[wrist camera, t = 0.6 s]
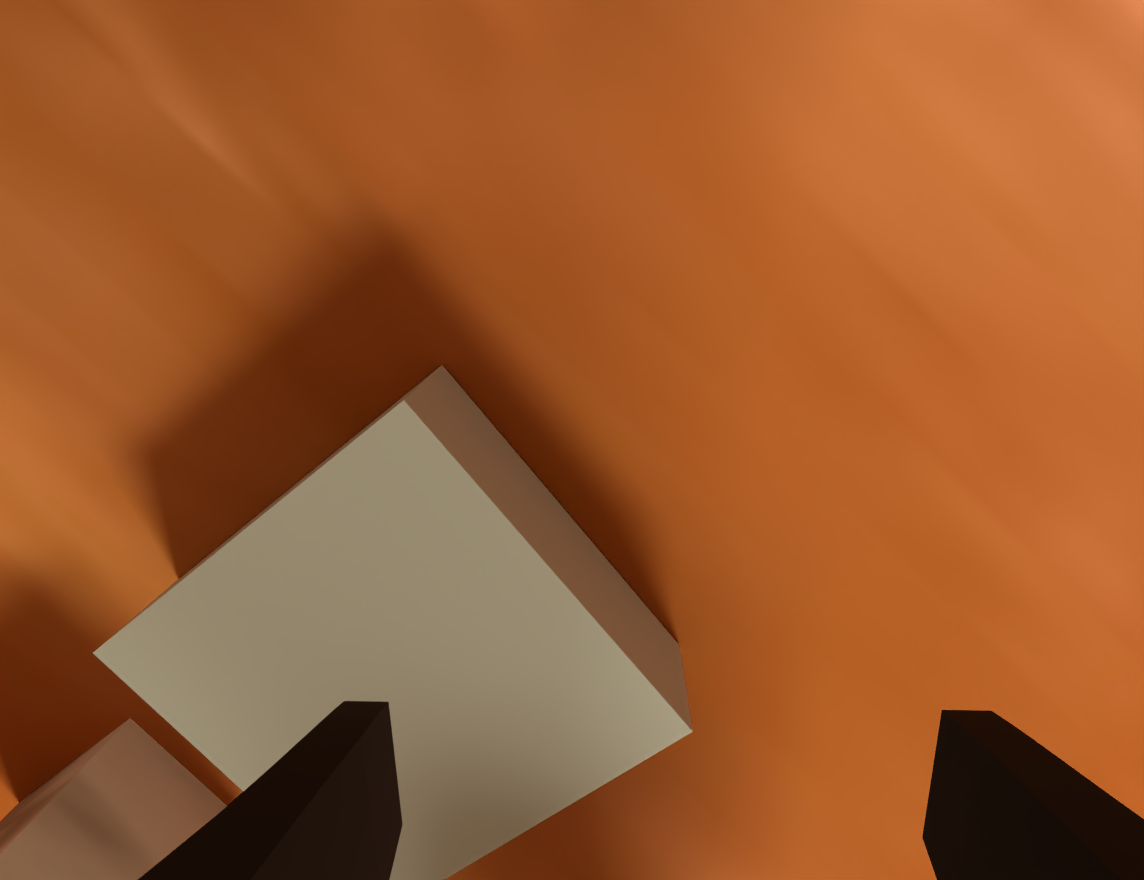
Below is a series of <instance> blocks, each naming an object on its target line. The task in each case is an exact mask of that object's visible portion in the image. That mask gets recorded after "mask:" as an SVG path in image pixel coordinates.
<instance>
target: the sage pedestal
mask: <svg viewBox="0 0 1144 880" xmlns="http://www.w3.org/2000/svg"><path fill="white" fill-rule="evenodd" d="M93 654H94V655H95V656H96V657H97V658H99V659H100V660H101V661H102V662H103V663H104V664H105V665H106V666H107V667H108V668H109V669H111V670H112V671H113V672H114V673H115V674H116V675H117V676H118V677H119V678H120V679H121V680H122V681H124V682H125V683H126V684H127V685H128V686H129V687H130V688H131V689H132V690H133V691H134V692H136V693H137V694H138V695H139V696H140V697H141V698H142V699H143V700H144V701H145V702H146V703H148V704H149V705H150V706H151V707H152V708H153V709H154V710H155V711H156V712H157V713H158V714H159V715H161V716H162V717H163V718H164V719H165V720H166V721H167V722H168V723H169V724H170V725H171V726H173V727H174V728H175V729H176V730H177V731H178V732H179V733H180V734H181V735H182V736H183V737H185V738H186V739H187V740H188V741H189V742H190V743H191V744H192V745H193V746H194V747H195V748H196V749H198V750H199V751H200V752H201V753H202V754H203V755H204V756H205V757H206V758H207V759H208V760H210V761H211V762H212V763H213V764H214V765H215V766H216V767H217V768H218V769H219V770H220V771H222V772H223V773H224V774H225V775H226V776H227V777H228V778H229V779H230V780H231V781H232V782H233V783H235V784H236V785H237V786H238V787H239V788H240V789H241V790H242V791H245V790H246V789H247V788H248V787H249V786H250V785H251V784H252V783H254V782H255V781H256V780H257V779H258V778H259V777H260V776H262V775H263V774H264V773H265V772H266V771H267V770H268V769H269V768H270V767H272V766H273V765H274V764H275V763H276V762H277V761H278V760H279V759H280V758H281V757H283V756H284V755H285V754H286V753H287V752H288V751H289V750H290V749H291V748H292V747H294V746H295V745H296V744H297V743H298V742H299V741H300V740H301V739H302V738H303V737H304V736H306V735H307V734H308V733H309V732H310V731H311V730H312V729H313V728H314V727H315V726H316V725H318V724H319V723H320V722H321V721H322V720H323V719H324V718H325V717H326V716H327V715H329V714H330V713H331V712H332V711H333V710H334V709H335V708H337V707H338V706H339V705H340V704H341V703H342V702H343V701H381V702H389V710H390V719H391V727H392V736H393V745H394V754H395V762H396V771H397V780H398V789H399V797H400V806H401V815H402V824H403V825H402V829H401V833H400V837H399V842H398V846H397V850H396V854H395V859H394V863H393V867H392V871H391V875H390V879H389V880H445V879H446V878H448V877H450V876H451V875H453V874H455V873H456V872H458V871H460V870H461V869H463V868H465V867H467V866H468V865H470V864H472V863H473V862H475V861H477V860H478V859H480V858H482V857H483V856H485V855H487V854H488V853H490V852H492V851H493V850H495V849H497V848H498V847H500V846H502V845H503V844H505V843H507V842H508V841H510V840H512V839H513V838H515V837H517V836H519V835H520V834H522V833H524V832H525V831H527V830H529V829H530V828H532V827H534V826H535V825H537V824H539V823H540V822H542V821H544V820H545V819H547V818H549V817H550V816H552V815H554V814H555V813H557V812H559V811H560V810H562V809H564V808H565V807H567V806H569V805H571V804H572V803H574V802H576V801H577V800H579V799H581V798H582V797H584V796H586V795H587V794H589V793H591V792H592V791H594V790H596V789H597V788H599V787H601V786H602V785H604V784H606V783H607V782H609V781H611V780H612V779H614V778H616V777H617V776H619V775H621V774H623V773H624V772H626V771H628V770H629V769H631V768H633V767H634V766H636V765H638V764H639V763H641V762H643V761H644V760H646V759H648V758H649V757H651V756H653V755H654V754H656V753H658V752H659V751H661V750H663V749H664V748H666V747H668V746H669V745H671V744H673V743H674V742H676V741H678V740H680V739H681V738H683V737H685V736H686V735H688V734H690V733H691V732H693V730H692V724H691V717H690V711H689V704H688V698H687V691H686V685H685V679H684V672H683V666H682V659H681V653H680V646H679V644H678V643H677V642H676V641H675V639H674V638H673V637H672V636H671V635H670V634H669V632H668V631H667V630H666V629H665V628H664V626H663V625H662V624H661V623H660V622H659V621H658V619H657V618H656V617H655V616H654V615H653V613H652V612H651V611H650V610H649V609H648V608H647V606H646V605H645V604H644V603H643V602H642V600H641V599H640V598H639V597H638V596H637V595H636V593H635V592H634V591H633V590H632V589H631V587H630V586H629V585H628V584H627V583H626V582H625V580H624V579H623V578H622V577H621V576H620V574H619V573H618V572H617V571H616V570H615V569H614V567H613V566H612V565H611V564H610V563H609V561H608V560H607V559H606V558H605V557H604V556H603V554H602V553H601V552H600V551H599V550H598V548H597V547H596V546H595V545H594V544H593V543H592V541H591V540H590V539H589V538H588V537H587V535H586V534H585V533H584V532H583V531H582V530H581V528H580V527H579V526H578V525H577V524H576V522H575V521H574V520H573V519H572V518H571V517H570V515H569V514H568V513H567V512H566V511H565V509H564V508H563V507H562V506H561V505H560V504H559V502H558V501H557V500H556V499H555V498H554V496H553V495H552V494H551V493H550V492H549V491H548V489H547V488H546V487H545V486H544V485H543V483H542V482H541V481H540V480H539V479H538V478H537V476H536V475H535V474H534V473H533V472H532V470H531V469H530V468H529V467H528V466H527V465H526V463H525V462H524V461H523V460H522V459H521V457H520V456H519V455H518V454H517V453H516V452H515V450H514V449H513V448H512V447H511V446H510V444H509V443H508V442H507V441H506V440H505V439H504V437H503V436H502V435H501V434H500V433H499V431H498V430H497V429H496V428H495V427H494V426H493V424H492V423H491V422H490V421H489V420H488V418H487V417H486V416H485V415H484V414H483V413H482V411H481V410H480V409H479V408H478V407H477V405H476V404H475V403H474V402H473V401H472V400H471V398H470V397H469V396H468V395H467V394H466V392H465V391H464V390H463V389H462V388H461V387H460V385H459V384H458V383H457V382H456V381H455V379H454V378H453V377H452V376H451V375H450V374H449V372H448V371H447V370H446V369H445V368H444V366H443V365H441V366H440V367H439V368H437V369H436V370H435V371H434V372H433V373H431V374H430V375H429V376H428V377H426V378H425V379H424V380H423V381H422V382H420V383H419V384H418V385H417V386H415V387H414V388H413V389H412V390H410V391H409V392H408V393H407V394H406V395H404V396H403V397H402V398H401V399H399V400H398V401H397V402H396V403H394V404H393V405H392V406H391V407H390V408H388V409H387V410H386V411H385V412H383V413H382V414H381V415H380V416H379V417H377V418H376V419H375V420H374V421H372V422H371V423H370V424H369V425H367V426H366V427H365V428H364V429H363V430H361V431H360V432H359V433H358V434H356V435H355V436H354V437H353V438H352V439H350V440H349V441H348V442H347V443H345V444H344V445H343V446H342V447H340V448H339V449H338V450H337V451H336V452H334V453H333V454H332V455H331V456H329V457H328V458H327V459H326V460H324V461H323V462H322V463H321V464H320V465H318V466H317V467H316V468H315V469H313V470H312V471H311V472H310V473H309V474H307V475H306V476H305V477H304V478H302V479H301V480H300V481H299V482H297V483H296V484H295V485H294V486H293V487H291V488H290V489H289V490H288V491H286V492H285V493H284V494H283V495H282V496H280V497H279V498H278V499H277V500H275V501H274V502H273V503H272V504H270V505H269V506H268V507H267V508H266V509H264V510H263V511H262V512H261V513H259V514H258V515H257V516H256V517H254V518H253V519H252V520H251V521H250V522H248V523H247V524H246V525H245V526H243V527H242V528H241V529H240V530H239V531H237V532H236V533H235V534H234V535H232V536H231V537H230V538H229V539H227V540H226V541H225V542H224V543H223V544H221V545H220V546H219V547H218V548H216V549H215V550H214V551H213V552H212V553H210V554H209V555H208V556H207V557H205V558H204V559H203V560H202V561H200V562H199V563H198V564H197V565H196V566H194V567H193V568H192V569H191V570H189V571H188V572H187V573H186V574H184V575H183V576H182V577H181V578H180V579H178V580H177V581H176V582H175V583H174V584H172V585H171V586H170V587H169V588H168V589H167V590H165V591H164V592H163V593H162V594H161V595H160V596H158V597H157V598H156V599H155V600H154V601H153V602H151V603H150V604H149V605H148V606H147V607H146V608H144V609H143V610H142V611H141V612H140V613H139V614H137V615H136V616H135V617H134V618H133V619H132V620H130V621H129V622H128V623H127V624H126V625H125V626H123V627H122V628H121V629H120V630H119V631H118V632H116V633H115V634H114V635H113V636H112V637H110V638H109V639H108V640H107V641H106V642H105V643H103V644H102V645H101V646H100V647H99V648H98V649H96V650H95V651H94V652H93Z"/></svg>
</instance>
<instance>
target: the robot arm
mask: <svg viewBox="0 0 1144 880" xmlns="http://www.w3.org/2000/svg"><path fill="white" fill-rule="evenodd" d="M402 825H403V824H402V815H401V806H400V797H399V789H398V780H397V771H396V762H395V754H394V745H393V736H392V727H391V719H390V710H389V702H381V701H343V702H342V703H341V704H340V705H339V706H338V707H337V708H335V709H334V710H333V711H332V712H331V713H330V714H329V715H327V716H326V717H325V718H324V719H323V720H322V721H321V722H320V723H319V724H318V725H316V726H315V727H314V728H313V729H312V730H311V731H310V732H309V733H308V734H307V735H306V736H304V737H303V738H302V739H301V740H300V741H299V742H298V743H297V744H296V745H295V746H294V747H292V748H291V749H290V750H289V751H288V752H287V753H286V754H285V755H284V756H283V757H281V758H280V759H279V760H278V761H277V762H276V763H275V764H274V765H273V766H272V767H270V768H269V769H268V770H267V771H266V772H265V773H264V774H263V775H262V776H260V777H259V778H258V779H257V780H256V781H255V782H254V783H252V784H251V785H250V786H249V787H248V788H247V789H246V790H245V791H243V792H242V793H241V794H240V795H239V796H238V797H237V798H236V799H234V800H233V801H232V802H231V803H230V804H229V805H228V806H227V807H225V808H224V809H223V810H222V811H221V812H220V813H218V814H217V815H216V816H215V817H214V818H212V819H211V820H210V821H209V822H208V823H206V824H205V825H204V826H203V827H201V828H200V829H199V830H198V831H197V832H195V833H194V834H193V835H192V836H190V837H189V838H188V839H187V840H186V841H184V842H183V843H182V844H181V845H179V846H178V847H177V848H176V849H175V850H173V851H172V852H171V853H170V854H168V855H167V856H166V857H165V858H164V859H162V860H161V861H160V862H159V863H157V864H156V865H155V866H154V867H153V868H151V869H150V870H149V871H148V872H146V873H145V874H144V875H143V876H142V877H140V878H139V879H138V880H389V879H390V875H391V871H392V867H393V863H394V859H395V854H396V850H397V846H398V842H399V837H400V833H401V829H402ZM923 840H924V843H925V846H926V849H927V852H928V855H929V858H930V860H931V863H932V866H933V869H934V872H935V875H936V878H937V880H1144V819H1143V818H1141V817H1140V816H1138V815H1137V814H1136V813H1134V812H1133V811H1131V810H1130V809H1129V808H1127V807H1126V806H1124V805H1123V804H1122V803H1120V802H1119V801H1117V800H1116V799H1115V798H1113V797H1112V796H1110V795H1109V794H1108V793H1106V792H1105V791H1104V790H1102V789H1101V788H1099V787H1098V786H1097V785H1095V784H1094V783H1093V782H1091V781H1090V780H1088V779H1087V778H1086V777H1084V776H1083V775H1082V774H1080V773H1079V772H1077V771H1076V770H1075V769H1073V768H1072V767H1071V766H1069V765H1068V764H1066V763H1065V762H1064V761H1062V760H1061V759H1060V758H1058V757H1057V756H1055V755H1054V754H1053V753H1051V752H1050V751H1048V750H1047V749H1046V748H1044V747H1043V746H1042V745H1040V744H1039V743H1037V742H1036V741H1035V740H1033V739H1032V738H1030V737H1029V736H1028V735H1026V734H1025V733H1023V732H1022V731H1021V730H1019V729H1018V728H1016V727H1015V726H1013V725H1012V724H1010V723H1009V722H1008V721H1006V720H1004V719H1003V718H1001V717H1000V716H998V715H997V714H995V713H994V712H992V711H970V710H942V713H941V720H940V726H939V733H938V739H937V746H936V752H935V759H934V765H933V772H932V778H931V785H930V791H929V798H928V804H927V811H926V818H925V824H924V831H923Z"/></svg>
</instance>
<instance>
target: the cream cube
mask: <svg viewBox="0 0 1144 880" xmlns="http://www.w3.org/2000/svg"><path fill="white" fill-rule="evenodd" d="M225 807H227V805H226V804H225V803H223V802H222V801H221V800H220V799H219V798H218V797H217V796H216V795H215V794H214V793H212V792H211V791H210V790H209V789H208V788H207V787H206V786H205V785H204V784H203V783H201V782H200V781H199V780H198V779H197V778H196V777H195V776H194V775H193V774H192V773H190V772H189V771H188V770H187V769H186V768H185V767H184V766H183V765H182V764H180V763H179V762H178V761H177V760H176V759H175V758H174V757H173V756H172V755H171V754H169V753H168V752H167V751H166V750H165V749H164V748H163V747H162V746H161V745H160V744H158V743H157V742H156V741H155V740H154V739H153V738H152V737H151V736H150V735H149V734H147V733H146V732H145V731H144V730H143V729H142V728H141V727H140V726H139V725H138V724H136V723H135V722H134V721H133V720H132V719H131V718H129V719H128V720H127V721H125V722H124V723H123V724H121V725H120V726H119V727H117V728H116V729H115V730H114V731H112V732H111V733H110V734H108V735H107V736H106V737H104V738H103V739H102V740H100V741H99V742H98V743H97V744H95V745H94V746H93V747H91V748H90V749H89V750H87V751H86V752H85V753H83V754H82V755H81V756H80V757H78V758H77V759H76V760H74V761H73V762H72V763H70V764H69V765H68V766H66V767H65V768H64V769H63V770H61V771H60V772H59V773H57V774H56V775H55V776H53V777H52V778H51V779H50V780H48V781H47V782H46V783H44V784H43V785H42V786H40V787H39V788H38V789H36V790H35V791H34V792H33V793H31V794H30V795H29V796H27V797H26V798H25V799H23V800H22V801H21V802H19V803H18V804H17V805H16V806H15V807H14V808H13V809H12V810H11V811H10V812H9V813H8V814H7V815H6V816H5V817H4V818H3V819H2V820H1V821H0V880H138V879H139V878H140V877H142V876H143V875H144V874H145V873H146V872H148V871H149V870H150V869H151V868H153V867H154V866H155V865H156V864H157V863H159V862H160V861H161V860H162V859H164V858H165V857H166V856H167V855H168V854H170V853H171V852H172V851H173V850H175V849H176V848H177V847H178V846H179V845H181V844H182V843H183V842H184V841H186V840H187V839H188V838H189V837H190V836H192V835H193V834H194V833H195V832H197V831H198V830H199V829H200V828H201V827H203V826H204V825H205V824H206V823H208V822H209V821H210V820H211V819H212V818H214V817H215V816H216V815H217V814H218V813H220V812H221V811H222V810H223V809H224V808H225Z"/></svg>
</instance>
